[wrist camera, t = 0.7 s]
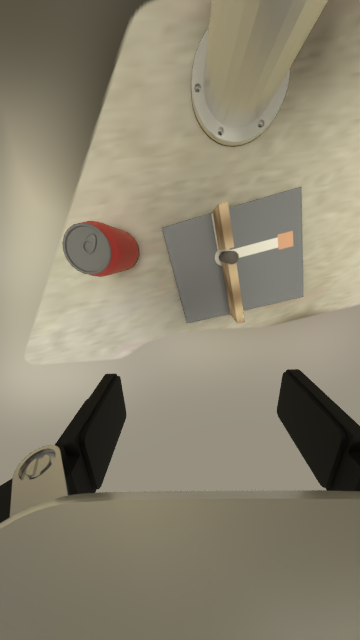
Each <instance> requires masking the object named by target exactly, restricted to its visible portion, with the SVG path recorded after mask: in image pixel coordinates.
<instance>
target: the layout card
mask: <svg viewBox="0 0 360 640" xmlns="http://www.w3.org/2000/svg"><path fill="white" fill-rule="evenodd" d="M229 214H230V221H231V228H232V235H233V242H234V247H233V248H229V249H224V250H219V248H218V242H217V236H216V230H215V224H214V218H213V213H210V214H207V215H203V216H200V217H197V218H193V219H190V220H186V221H183V222H180V223H176V224H173V225H170V226H166V227H163V228H162V229H163V233H164V237H165V241H166V245H167V248H168V252H169V256H170V260H171V264H172V268H173V271H174V275H175V279H176V283H177V287H178V290H179V294H180V298H181V302H182V306H183V309H184V313H185V317H186V321H187V323H191V322H196V321H200V320H204V319H209V318H213V317H218V316H222V315H226V314H230V310H229V304H228V298H227V293H226V287H225V281H224V275H223V269H222V263H221V261H220V260H219V255H220V253H221V252H223V251H235V252H237V253H238V255H239V259H238V261H237V262H236V263H237V270H238V277H239V284H240V291H241V299H242V306H243V311H244V310H248V309H252V308H257V307H261V306H265V305H270V304H274V303H278V302H283V301H287V300H291V299H296V298H300V297H303V249H302V195H301V187H298V188H295V189H291V190H288V191H285V192H281V193H278V194H274V195H271V196H268V197H264V198H261V199H257V200H254V201H251V202H247V203H244V204H241V205H237V206H234V207H230V208H229Z"/></svg>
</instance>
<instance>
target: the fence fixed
mask: <svg viewBox="0 0 360 640" xmlns="http://www.w3.org/2000/svg"><path fill="white" fill-rule="evenodd" d="M213 218H214V224H215V230H216V236H217V242H218V248H219V250H224V249H229V248H233V247H234V242H233V235H232V228H231V221H230V214H229V207H228V201H227V202H223V203H220V204H218V205H217V207H216V208H215V210H214V211H213Z"/></svg>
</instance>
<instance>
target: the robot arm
mask: <svg viewBox="0 0 360 640" xmlns="http://www.w3.org/2000/svg"><path fill="white" fill-rule="evenodd" d="M327 2H328V0H212V3H211V13H210V22H209V28H208V29H207V30H206V32H205V34H204V36H203V38H202V39H201V41H200V44H199V46H198V49H197V52H196V54H195V59H194V63H193V68H192V79H191V94H192V103H193V107H194V111H195V115H196V117H197V119H198V121H199V124H200V125H201V127H202V128H203V130H204V131H205V132H206V133H207V134H208V135H209V136H210V137H211V138H212V139H213V140H215V141H217V142H218V143H221V144H224V145H229V146H237V145H243V144H245V143H248V142H250V141H252V140H254V139H255V138H257V137H258V136H260V135H261V134H262V133H263V132H264V131H265V130H266V129H267V128H268V126H269V125H270V123H271V122H272V121H273V119H274V118H275V116H276V115H277V113H278V111H279V110H280V107H281V105H282V103H283V101H284V99H285V95H286V92H287V89H288V84H289V78H290V67H291V65H292V63H293V61H294V60H295V58H296V56H297V54H298V53H299V51H300V49H301V47H302V46H303V44H304V42H305V40H306V38H307V37H308V35H309V33H310V31H311V30H312V28H313V26H314V24H315V23H316V21H317V19H318V17H319V16H320V14H321V12H322V10H323V9H324V7H325V5H326V3H327ZM197 92H198V93H197ZM258 126H260V128H259V127H258ZM219 133H220V134H221V135H219ZM277 414H278V417H279V418H280V420H281V422H282V423H283V425H284V426H285V428H286V430H287V431H288V433H289V434H290V436H291V438H292V440H293V441H294V443H295V444H296V446H297V448H298V449H299V451H300V453H301V454H302V456H303V457H304V459H305V461H306V462H307V464H308V466H309V467H310V469H311V470H312V472H313V474H314V475H315V477H316V479H317V480H318V482H319V483H320V485H321V486H322V487H324V488H326V490H327V491H144V492H105V493H95V492H96V489H99V488H100V487H101V485H102V482H103V479H104V477H105V474H106V471H107V469H108V466H109V463H110V460H111V458H112V455H113V452H114V449H115V446H116V444H117V441H118V438H119V436H120V433H121V430H122V427H123V424H124V422H125V419H126V409H125V403H124V397H123V391H122V385H121V379H120V377H119V376H117V374H105V376H104V377H103V378H102V380H101V382H100V383H99V384H98V386H97V388H96V389H95V390H94V392H93V393H92V395H91V396H90V397H89V399H87V400H86V401H85V403H84V404H83V405H82V407H81V408H80V410H79V411H78V413H77V414H76V415H75V417H74V418H73V420H72V421H71V423H70V424H69V426H68V427H67V428H66V430H65V431H64V433H63V434H62V435H61V437H60V438H59V440H58V441H57V443H56V444H55V445H47V446H43V447H41V448H39V449H36V450H35V451H34V452H32V453H30V454H29V455H28V456H27V457H25V458H24V459H23V460H22V461H21V463H20V464H19V465H18V466H17V468H16V470H15V472H14V474H13V478H12V479H11V480H9V481H7V482H6V483H4V484H3V485H1V486H0V640H360V426H359V425H358V424H357V423H356V422H355V421H354V420H353V419H351V418H350V417H349V416H348V415H347V414H346V413H345V412H344V411H343V410H342V409H341V408H340V407H339V406H338V405H337V404H335V403H334V402H333V401H332V400H331V399H330V398H329V397H328V396H327V395H325V393H324V392H323V391H322V390H320V389H319V388H318V387H317V386H316V385H315V384H314V383H313V382H312V381H311V380H310V379H309V378H308V377H306V376H305V375H304V374H303V373H302V372H301V371H300V370H298V369H296V370H286V372H284V373H283V377H282V383H281V388H280V394H279V400H278V406H277Z"/></svg>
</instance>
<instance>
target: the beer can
mask: <svg viewBox="0 0 360 640" xmlns="http://www.w3.org/2000/svg"><path fill="white" fill-rule="evenodd" d="M63 251H64V253H65V256H66V258H67V260H68V261H69V263H70V264H71V265H72V266H73V267H74V268H75V269H76V270H78V271H80V272H82V273H84V274H89V275H92V276H100V277H101V276H106V275H110V274H114V273H117V272H121V271H124V270H127V269H130V268H131V267H133V266H134V264H135V263H136V262H137V259H138V255H139V249H138V246H137V243H136V241H135V240H134V238H133V237H132V236H131V235H130V234H129V233H127V232H125V231H122V230H120V229H117V228H114V227H111V226H109V225H106V224H103V223H100V222H95V221H87V222H82V223H78V224H74V225H73V226H71V227H70V228H69V229H68V230H67V231H66V233H65V235H64V239H63Z"/></svg>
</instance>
